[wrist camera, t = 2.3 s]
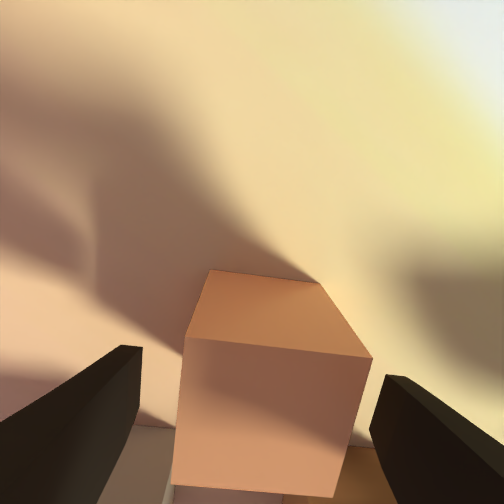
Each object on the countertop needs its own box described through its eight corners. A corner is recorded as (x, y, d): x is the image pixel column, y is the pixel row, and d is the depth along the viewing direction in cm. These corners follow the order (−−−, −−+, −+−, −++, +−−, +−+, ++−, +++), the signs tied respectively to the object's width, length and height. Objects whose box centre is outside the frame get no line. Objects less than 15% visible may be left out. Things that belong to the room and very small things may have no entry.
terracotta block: (319, 283, 12) (372, 358, 7) (299, 376, 13) (332, 497, 8) (210, 269, 11) (184, 336, 7) (199, 365, 12) (170, 484, 8)
